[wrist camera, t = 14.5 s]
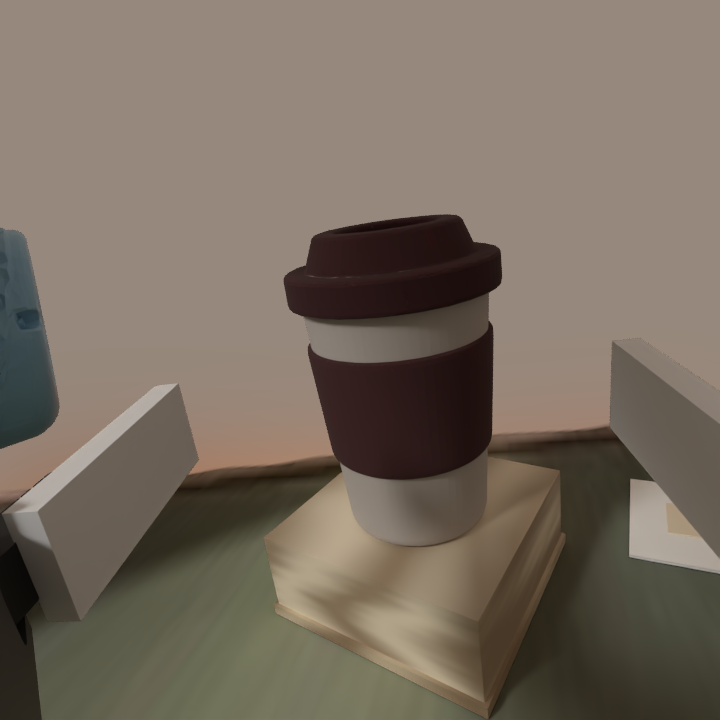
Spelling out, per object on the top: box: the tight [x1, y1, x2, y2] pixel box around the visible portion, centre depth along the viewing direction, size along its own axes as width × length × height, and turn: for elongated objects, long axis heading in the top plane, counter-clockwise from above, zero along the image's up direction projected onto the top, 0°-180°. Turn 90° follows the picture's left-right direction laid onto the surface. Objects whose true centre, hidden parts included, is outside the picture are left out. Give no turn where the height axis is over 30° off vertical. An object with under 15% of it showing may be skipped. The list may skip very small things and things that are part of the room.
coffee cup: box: [284, 215, 502, 546], centre depth 25 cm, size 10×10×15 cm
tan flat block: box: [264, 457, 566, 719], centre depth 29 cm, size 12×12×5 cm
